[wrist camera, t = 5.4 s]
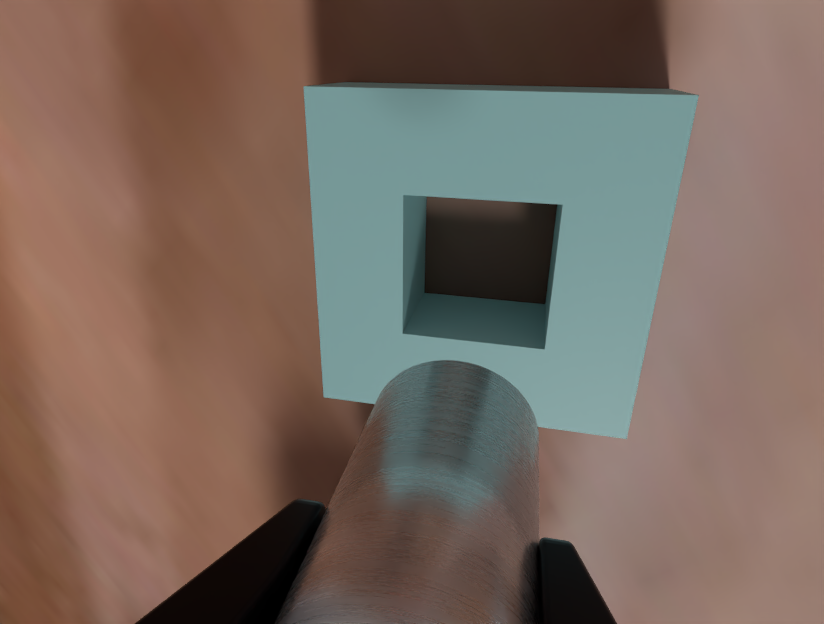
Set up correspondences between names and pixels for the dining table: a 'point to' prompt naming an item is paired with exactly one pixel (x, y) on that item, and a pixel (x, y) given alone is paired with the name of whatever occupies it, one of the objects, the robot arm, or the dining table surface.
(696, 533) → the dining table surface
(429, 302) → the socket block
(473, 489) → the pin medium
